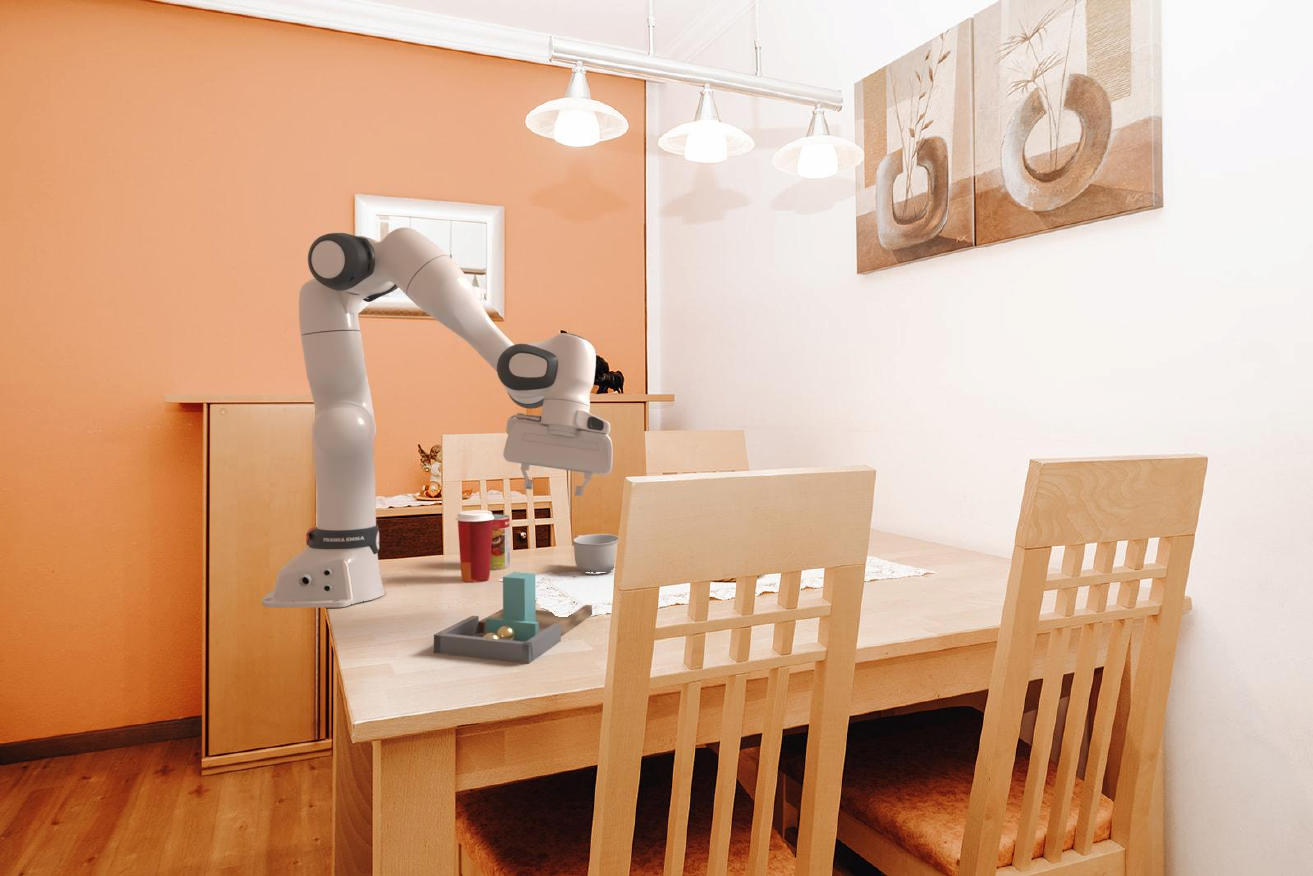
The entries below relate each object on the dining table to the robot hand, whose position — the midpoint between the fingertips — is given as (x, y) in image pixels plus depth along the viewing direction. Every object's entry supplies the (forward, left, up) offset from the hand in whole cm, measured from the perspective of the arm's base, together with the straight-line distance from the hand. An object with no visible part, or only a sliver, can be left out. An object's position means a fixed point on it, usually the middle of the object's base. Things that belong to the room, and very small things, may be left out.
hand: (553, 492), depth 143 cm
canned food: (-10, +44, -23) cm, 51 cm away
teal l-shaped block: (-7, -12, -22) cm, 26 cm away
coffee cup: (-14, +31, -23) cm, 41 cm away
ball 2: (-9, -17, -22) cm, 29 cm away
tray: (-10, -18, -23) cm, 31 cm away
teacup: (+13, +35, -23) cm, 44 cm away
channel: (-3, -7, -23) cm, 24 cm away
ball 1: (-11, -20, -22) cm, 31 cm away
